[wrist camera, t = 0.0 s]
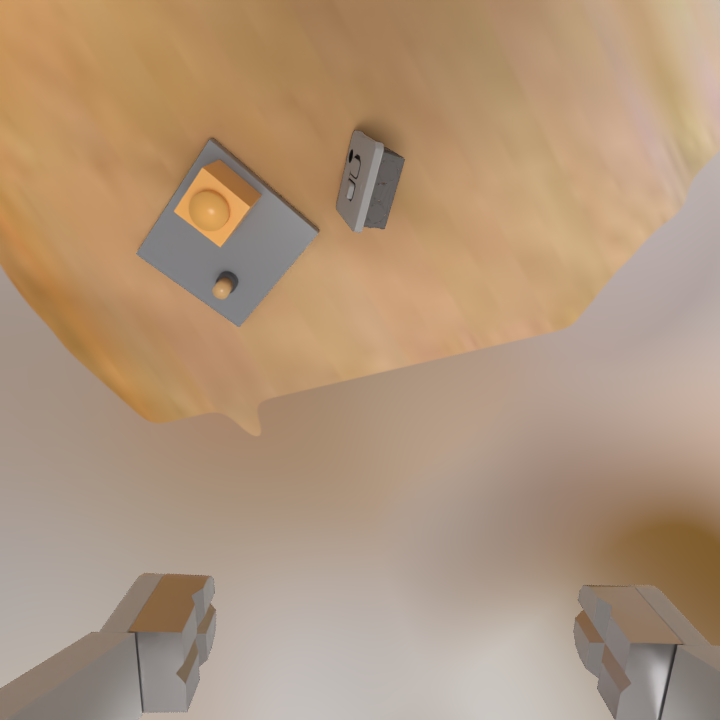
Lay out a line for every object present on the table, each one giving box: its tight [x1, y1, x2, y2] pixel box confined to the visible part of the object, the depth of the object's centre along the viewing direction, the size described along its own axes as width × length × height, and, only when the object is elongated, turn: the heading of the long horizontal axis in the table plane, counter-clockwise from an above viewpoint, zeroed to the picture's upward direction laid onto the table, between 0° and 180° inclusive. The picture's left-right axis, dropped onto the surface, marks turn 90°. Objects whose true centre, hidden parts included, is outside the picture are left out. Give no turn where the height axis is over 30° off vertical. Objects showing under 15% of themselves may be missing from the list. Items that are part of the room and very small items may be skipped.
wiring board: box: [136, 138, 319, 327], centre depth 56 cm, size 18×16×6 cm
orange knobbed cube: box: [174, 159, 262, 248], centre depth 50 cm, size 6×6×8 cm
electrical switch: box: [336, 130, 405, 233], centre depth 50 cm, size 9×5×9 cm, turn 165°
